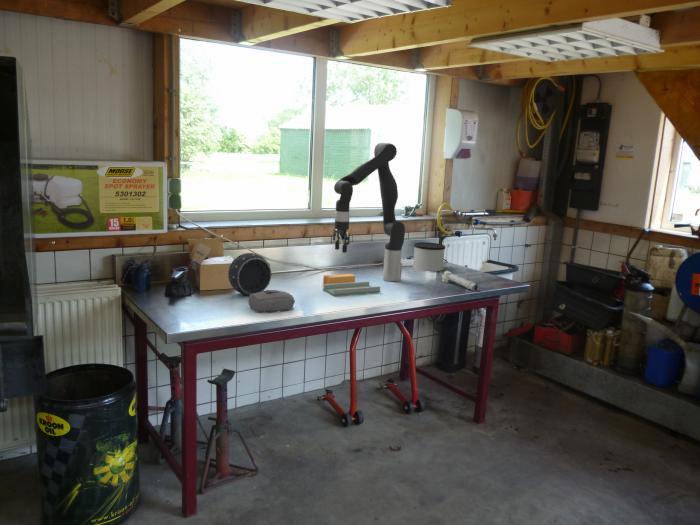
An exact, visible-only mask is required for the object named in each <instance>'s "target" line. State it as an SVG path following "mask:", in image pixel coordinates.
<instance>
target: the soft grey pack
mask: <svg viewBox="0 0 700 525" xmlns="http://www.w3.org/2000/svg"><path fill="white" fill-rule="evenodd" d="M294 305H295V297H294V296H293V295H292V294H291V293H289V292H286V291H283V290H278V289H277V290H276V289H267V290H266V289H265V290H264V291H263V292H258V293H254V294H250V295H248V306H249V308H250V309H251V311H253V312H255V313H262V312H269V313H278V312H277V311H280V312H286V311H289V310H292V309H293V308H294ZM285 310H286V311H285Z"/></svg>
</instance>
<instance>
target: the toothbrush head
mask: <svg viewBox="0 0 700 525" xmlns="http://www.w3.org/2000/svg"><path fill="white" fill-rule="evenodd" d="M441 277H442V278H441V280H442V282H443V283H447V282H451V283H452V281H453V282H454V283H457V284H458V285H461V286H463V288H467V289H468V290H469V289H471V290H470V291H472V290H476V291H477V290H478V289H479V285H478V284H476V283H475V282H474V281H471V280H468V279H465V278H463V277H460V276H458V275H456V274H453V273H452V272H451V271H450V270H449V271H448V270H445V271H444V273H443V274H442V275H441Z"/></svg>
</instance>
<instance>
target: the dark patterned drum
mask: <svg viewBox="0 0 700 525" xmlns="http://www.w3.org/2000/svg"><path fill="white" fill-rule="evenodd" d="M227 271H228V273H227V275H228V276H227V278H228V281H229V283H230V285H231V287H232V288H233V289H234V290H235V291H236V292H238V293H239V294H241V295H244V296H250V294H254V293H258V292H263V291H266V289H267V287H268V286H269V285H270V282H271V281H272V280H271V279H272V275H273V274H272V269H271V264H270V263H269V262H268V261H267V259H265V258H264V256H262V255H261V254H257V253H253V252H245V253H241V254H240V255H237V257H235V258H234V259H233V260H232V261H231V263H230V265H229V268H228V270H227Z"/></svg>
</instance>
